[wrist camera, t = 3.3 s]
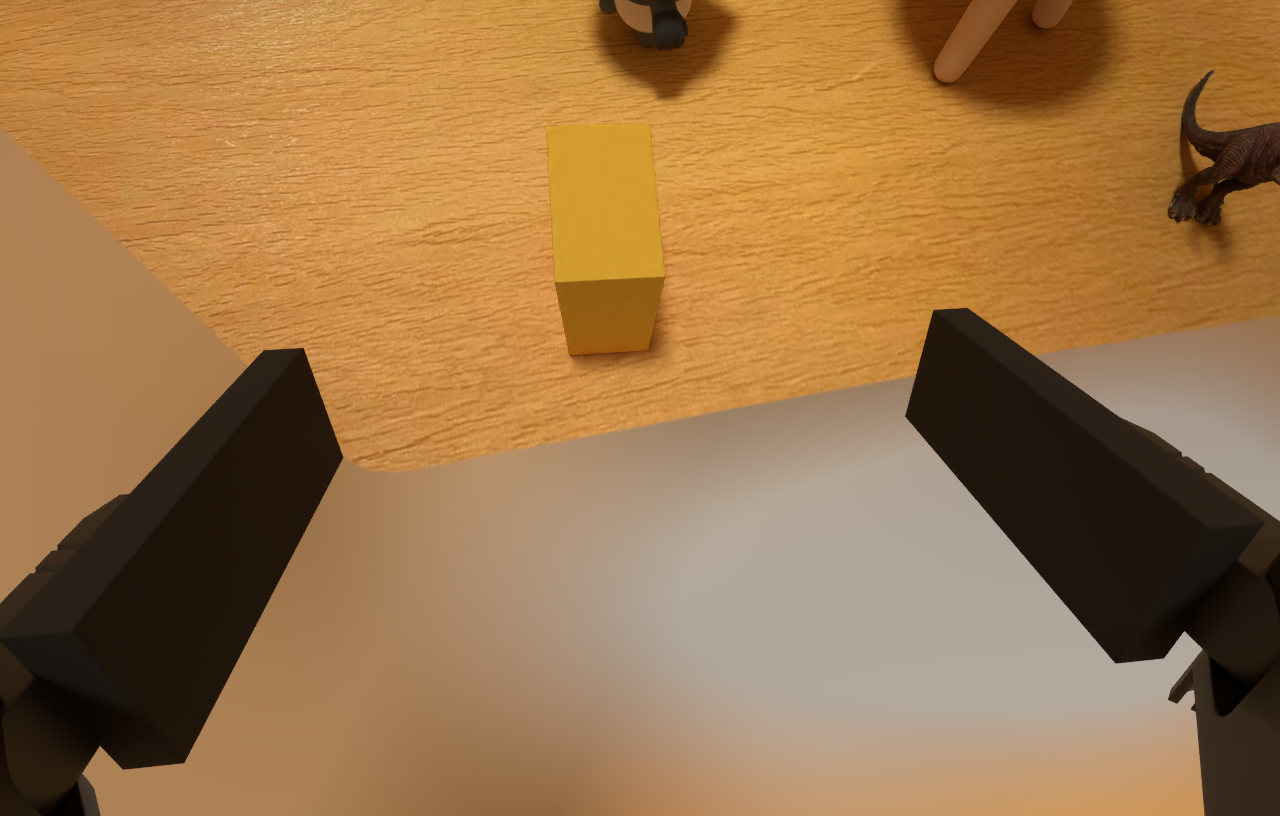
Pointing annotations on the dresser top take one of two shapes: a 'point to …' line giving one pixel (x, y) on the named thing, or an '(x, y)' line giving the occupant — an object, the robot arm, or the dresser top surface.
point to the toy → (653, 20)
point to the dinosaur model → (1226, 162)
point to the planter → (987, 31)
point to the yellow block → (605, 235)
